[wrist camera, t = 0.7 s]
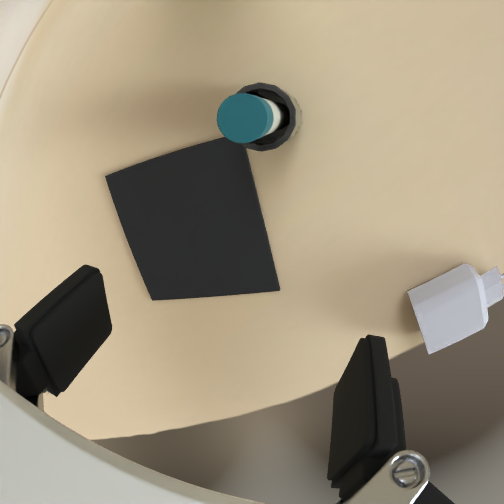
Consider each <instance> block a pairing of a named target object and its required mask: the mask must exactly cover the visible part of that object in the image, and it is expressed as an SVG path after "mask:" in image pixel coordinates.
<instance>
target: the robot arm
mask: <svg viewBox="0 0 504 504" xmlns="http://www.w3.org/2000/svg"><path fill="white" fill-rule="evenodd" d="M14 326H15V328H16V331H15V332H13V330H12V328H11V327H10V326H8V325H5V324H0V504H265V503H261V502H256V501H252V500H247V499H242V498H238V497H234V496H230V495H226V494H223V493H219V492H215V491H212V490H208V489H205V488H202V487H198V486H195V485H192V484H189V483H186V482H183V481H180V480H177V479H174V478H172V477H169V476H167V475H163V474H161V473H159V472H156V471H154V470H151V469H148V468H146V467H144V466H142V465H139V464H137V463H135V462H133V461H130V460H128V459H126V458H124V457H122V456H120V455H118V454H115V453H113V452H111V451H109V450H107V449H105V448H104V447H102V446H100V445H98V444H96V443H94V442H92V441H90V440H89V439H87V438H85V437H83V436H81V435H80V434H78V433H76V432H75V431H73V430H71V429H70V428H68V427H66V426H65V425H63V424H61V423H60V422H58V421H57V420H55V419H54V418H52V417H51V416H49V415H48V414H46V413H45V412H44V406H43V391H44V389H45V388H46V389H47V391H48V392H50V393H51V394H53V395H55V396H56V397H57V396H58V395H59V394H60V392H64V391H65V390H66V389H67V388H68V386H69V385H70V384H71V382H72V381H73V380H74V379H75V377H76V376H77V375H78V373H79V372H80V371H81V370H82V368H83V367H84V366H85V365H86V363H87V362H88V361H89V360H90V358H91V357H92V356H93V355H94V354H95V352H96V351H97V350H98V349H99V347H100V346H101V345H102V344H103V343H104V341H105V340H106V339H107V338H108V337H109V335H110V334H111V331H112V324H111V319H110V314H109V309H108V304H107V299H106V293H105V288H104V282H103V276H102V274H101V273H100V270H99V269H98V268H95V267H92V266H89V265H83V266H82V267H80V268H79V269H78V270H77V271H75V272H74V273H73V274H72V275H71V276H69V277H68V278H67V279H66V280H64V281H63V282H62V283H61V284H60V285H58V286H57V287H56V288H55V289H54V290H52V291H51V292H50V293H49V294H48V295H47V296H45V297H44V298H43V299H42V300H41V301H40V302H39V303H37V304H36V305H35V306H34V307H33V308H32V309H31V310H30V311H28V312H27V313H26V314H25V315H24V316H23V317H22V318H21V319H20V320H19V321H18V322H16V323H15V324H14ZM429 476H430V468H429V464H428V463H427V460H426V459H425V458H424V457H423V456H422V455H421V454H419V453H417V452H416V451H411V450H406V442H405V431H404V421H403V412H402V404H401V398H400V390H399V384H398V381H397V379H396V378H391V372H390V366H389V359H388V353H387V347H386V341H385V338H384V337H380V336H374V335H367V336H366V338H361V339H360V340H359V342H358V344H357V346H356V349H355V351H354V353H353V355H352V357H351V359H350V361H349V363H348V365H347V367H346V369H345V371H344V373H343V375H342V377H341V379H340V381H339V383H338V385H337V386H336V389H335V392H334V399H333V417H332V431H331V443H330V455H329V464H328V474H327V479H328V480H332V484H331V488H340V491H339V497H340V498H341V499H340V500H338V501H337V502H336V503H335V504H454V503H453V502H452V501H451V500H450V499H449V498H448V497H446V496H445V495H444V494H443V493H442V492H441V491H439V490H438V489H437V488H436V487H435V486H434V485H433V484H432V483H430V482H429V481H428V480H429Z"/></svg>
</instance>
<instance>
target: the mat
mask: <svg viewBox="0 0 504 504" xmlns="http://www.w3.org/2000/svg"><path fill="white" fill-rule="evenodd" d="M105 178H106V181H107V184H108V187H109V190H110V193H111V196H112V199H113V202H114V205H115V208H116V211H117V213H118V216H119V219H120V222H121V225H122V227H123V230H124V233H125V235H126V238H127V241H128V243H129V246H130V248H131V251H132V254H133V256H134V259H135V261H136V263H137V266H138V268H139V271H140V273H141V276H142V278H143V280H144V283H145V285H146V287H147V290H148V292H149V294H150V296H151V299H152V300H169V299H185V298H199V297H213V296H226V295H238V294H250V293H261V292H272V291H280V287H279V283H278V278H277V274H276V270H275V266H274V261H273V257H272V253H271V249H270V245H269V241H268V236H267V232H266V228H265V224H264V220H263V216H262V212H261V208H260V204H259V200H258V196H257V192H256V188H255V184H254V180H253V176H252V172H251V168H250V164H249V160H248V156H247V152H246V148H245V147H244V146H242V145H241V144H240V143H236V142H233V141H231V140H229V139H227V138H226V137H224V138H220V139H216V140H213V141H209V142H205V143H202V144H198V145H195V146H192V147H188V148H185V149H182V150H178V151H175V152H172V153H169V154H166V155H163V156H160V157H157V158H154V159H151V160H148V161H145V162H142V163H139V164H136V165H134V166H131V167H128V168H125V169H123V170H120V171H117V172H115V173H112V174H110V175H107V176H105Z"/></svg>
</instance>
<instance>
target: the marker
mask: <svg viewBox="0 0 504 504" xmlns="http://www.w3.org/2000/svg"><path fill="white" fill-rule="evenodd" d="M288 120H289V113H288V110H287V108H286V107H285V106H284V105H283V104H281V103H279V102H275V101H271V100H268V99H264V98H261V97H258V96H255V95H251V94H246V93H238V94H234V95H232V96H230V97H228V98H227V99H225V100H224V101H223V103H222V104H221V105H220V107H219V109H218V113H217V124H218V127H219V129H220V131H221V133H222V134H223V135H224V136H225V137H226V138H227V139H229V140H231V141H233V142H236V143H248V142H252V141H254V140H256V139H259V138H261V137H263V136H265V135H267V134H270V133H273V132H275V131H278V130H280V129H282V128H284V127H285V126H286V125H287V123H288Z"/></svg>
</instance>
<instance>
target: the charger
mask: <svg viewBox="0 0 504 504" xmlns="http://www.w3.org/2000/svg"><path fill="white" fill-rule="evenodd" d="M503 278H504V274H503V275H501V276H500V273H499V270H498V268H497V266H496V267H495V268H493V269H491V270H489V271H488V272H486V273H484V274H482V275H480V276H479V274H478V273H477V272H476V270H475V269H474V268H473V266H471V265H468V264H466V263H463V264H462V265H460V266H458V267H456V268H454V269H452V270H450V271H448V272H446V273H444V274H442V275H440V276H438V277H436V278H434V279H432V280H430V281H428V282H426V283H424V284H422V285H420V286H418V287H415V288H413V289H411V290H409V291H407V292H408V295H409V298H410V301H411V304H412V307H413V310H414V313H415V316H416V318H417V321H418V324H419V327H420V330H421V333H422V336H423V339H424V342H425V345H426V348H427V350H428V354H431V353H434V352H436V351H438V350H440V349H443V348H445V347H447V346H449V345H451V344H453V343H455V342H457V341H460V340H462V339H464V338H466V337H467V336H470V335H472V334H473V333H475V332H477V331H479V330H481V329H483V328H484V327H485V325H486V323H487V321H488V313H487V307H489V306H491V305H492V304H494V303H496V302H497V301H499V300H501V299H502V298H503V289H504V285H502V280H501V279H503Z"/></svg>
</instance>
